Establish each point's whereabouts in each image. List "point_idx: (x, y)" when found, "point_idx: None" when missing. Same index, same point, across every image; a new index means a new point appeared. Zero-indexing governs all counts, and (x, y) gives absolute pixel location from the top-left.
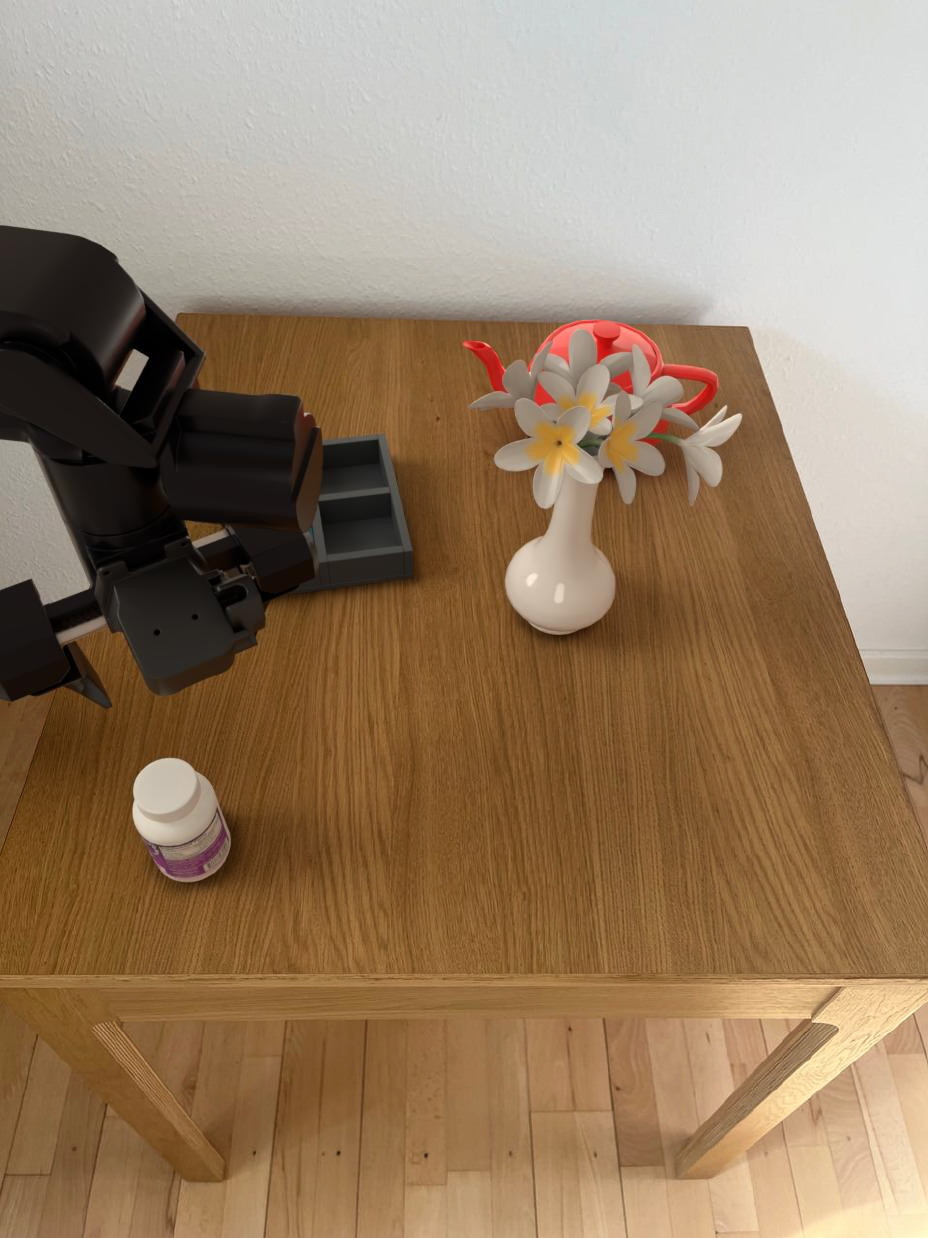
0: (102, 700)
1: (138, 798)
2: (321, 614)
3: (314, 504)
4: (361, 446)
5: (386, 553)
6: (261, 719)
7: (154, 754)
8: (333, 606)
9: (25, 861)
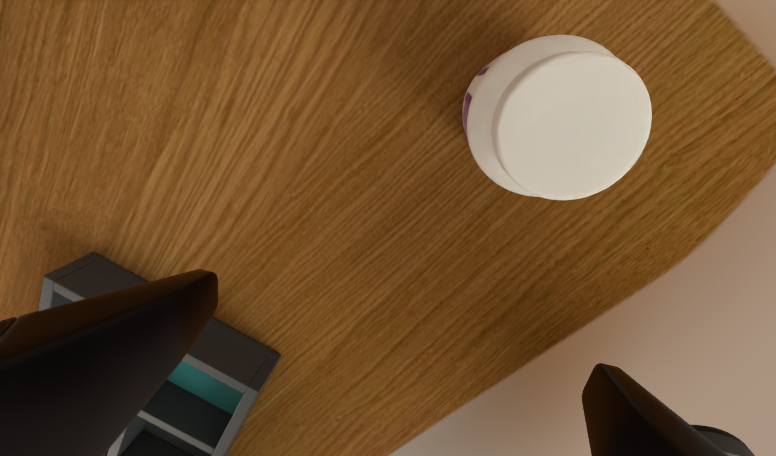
0: (654, 408)
1: (638, 141)
2: None
3: None
4: None
5: (75, 294)
6: (338, 212)
7: (468, 258)
8: None
9: (682, 240)
